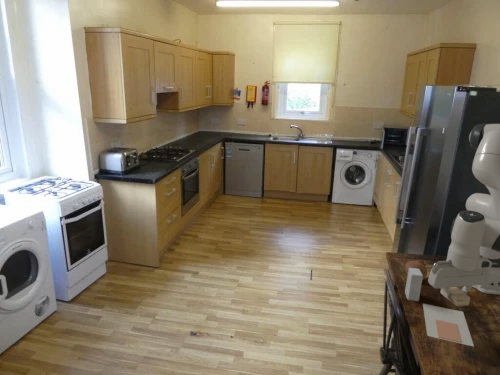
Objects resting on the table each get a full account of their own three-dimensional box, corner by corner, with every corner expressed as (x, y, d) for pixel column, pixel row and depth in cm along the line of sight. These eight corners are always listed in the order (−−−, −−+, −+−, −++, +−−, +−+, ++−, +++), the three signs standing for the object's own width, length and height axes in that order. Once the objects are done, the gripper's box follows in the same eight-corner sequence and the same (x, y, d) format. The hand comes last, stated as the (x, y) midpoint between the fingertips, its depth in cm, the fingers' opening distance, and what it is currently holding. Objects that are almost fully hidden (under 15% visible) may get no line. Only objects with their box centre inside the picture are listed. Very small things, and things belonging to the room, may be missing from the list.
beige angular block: (468, 305, 117) (470, 297, 116) (456, 306, 116) (458, 298, 116) (451, 291, 125) (453, 284, 124) (440, 292, 124) (441, 285, 123)
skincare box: (418, 302, 141) (423, 276, 138) (407, 301, 142) (411, 274, 139) (415, 294, 147) (419, 268, 144) (404, 292, 148) (408, 267, 144)
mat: (462, 313, 135) (463, 311, 135) (473, 348, 117) (474, 346, 117) (422, 304, 140) (422, 303, 140) (427, 337, 122) (427, 335, 122)
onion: (417, 282, 162) (427, 262, 161) (423, 288, 152) (434, 267, 151) (397, 272, 163) (407, 253, 162) (402, 277, 154) (413, 257, 153)
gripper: (440, 266, 112) (433, 304, 116) (496, 262, 115) (488, 299, 119) (427, 257, 118) (421, 293, 122) (481, 253, 121) (473, 288, 125)
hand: (454, 296), depth 120 cm, fingers closed on beige angular block, 4 cm apart
